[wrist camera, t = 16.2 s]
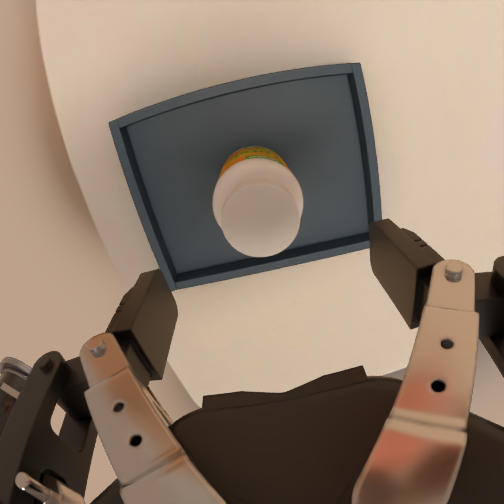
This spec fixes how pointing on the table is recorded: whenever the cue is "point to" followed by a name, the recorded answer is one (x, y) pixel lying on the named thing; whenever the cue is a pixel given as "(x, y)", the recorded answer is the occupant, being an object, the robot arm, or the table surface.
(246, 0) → the table surface
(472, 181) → the table surface
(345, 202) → the tray
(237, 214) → the supplement bottle
